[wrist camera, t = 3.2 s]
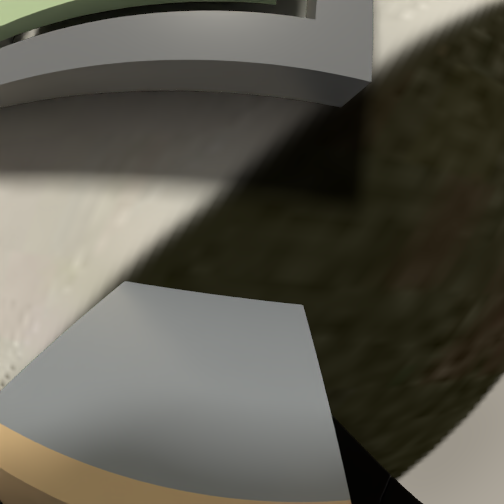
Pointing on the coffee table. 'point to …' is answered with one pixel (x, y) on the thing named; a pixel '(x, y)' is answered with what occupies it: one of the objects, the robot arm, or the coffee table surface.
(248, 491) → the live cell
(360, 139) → the coffee table surface
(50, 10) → the light green square plate
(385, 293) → the coffee table surface
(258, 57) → the checker frame
